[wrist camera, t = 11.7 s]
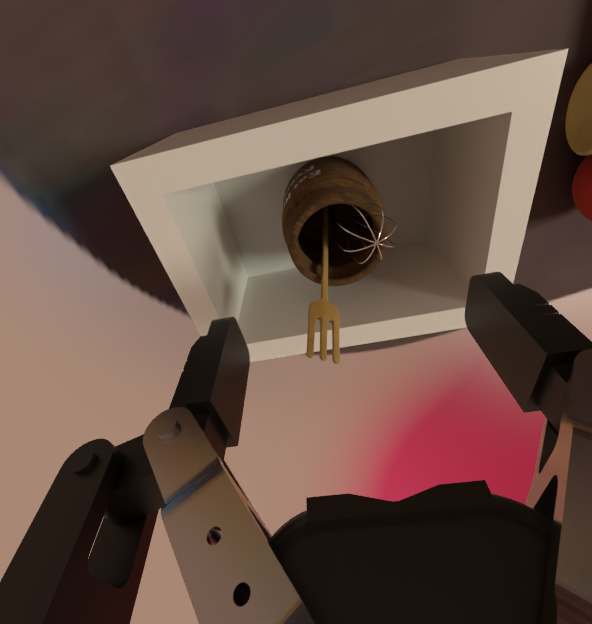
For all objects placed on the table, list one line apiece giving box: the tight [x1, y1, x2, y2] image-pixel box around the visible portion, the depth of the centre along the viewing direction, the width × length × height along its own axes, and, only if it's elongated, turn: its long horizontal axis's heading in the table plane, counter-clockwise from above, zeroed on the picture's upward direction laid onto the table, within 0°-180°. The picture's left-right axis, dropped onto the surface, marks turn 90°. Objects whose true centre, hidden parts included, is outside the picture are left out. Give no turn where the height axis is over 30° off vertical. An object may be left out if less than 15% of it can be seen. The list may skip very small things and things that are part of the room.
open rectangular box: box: [110, 48, 569, 362], centre depth 19 cm, size 12×17×9 cm
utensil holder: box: [282, 156, 397, 364], centre depth 17 cm, size 6×6×12 cm
